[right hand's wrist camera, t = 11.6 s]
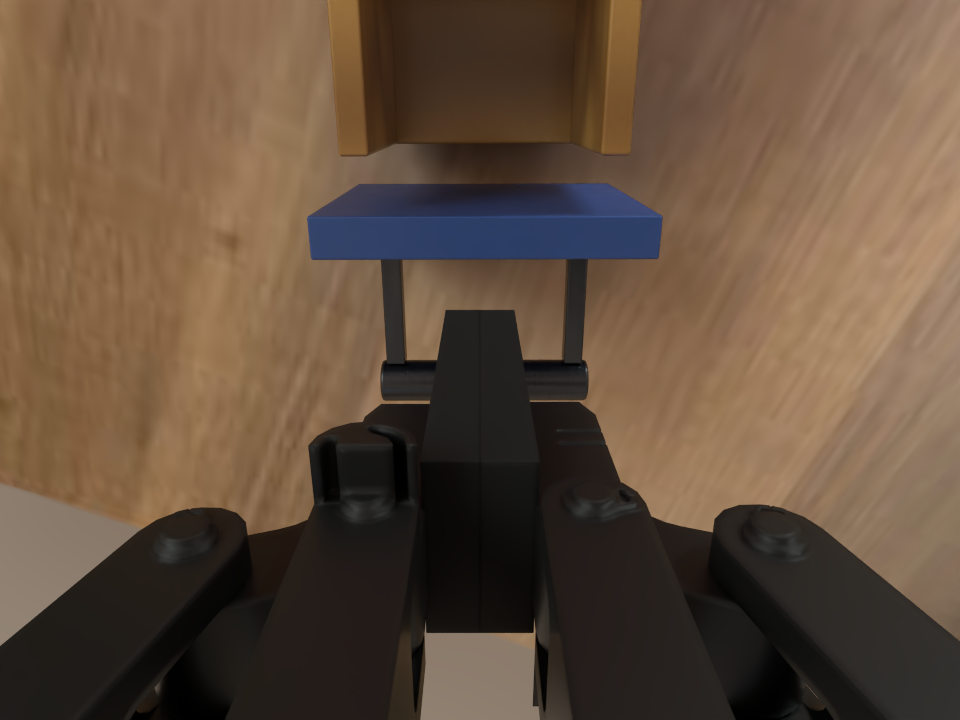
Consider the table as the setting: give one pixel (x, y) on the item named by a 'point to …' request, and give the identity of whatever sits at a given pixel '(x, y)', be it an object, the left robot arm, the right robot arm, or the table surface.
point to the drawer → (484, 119)
